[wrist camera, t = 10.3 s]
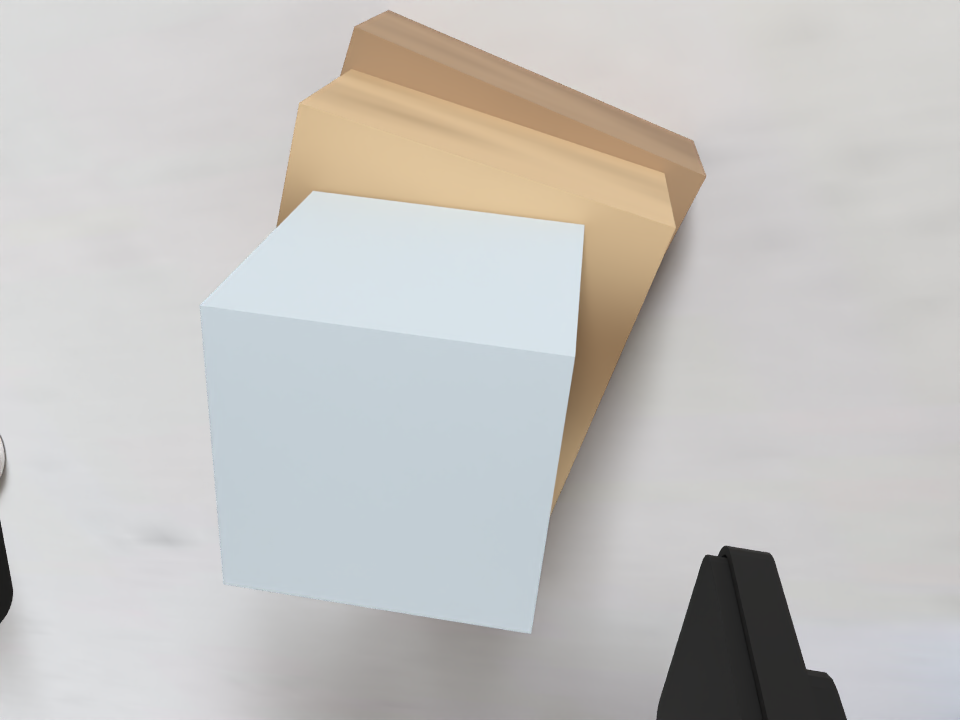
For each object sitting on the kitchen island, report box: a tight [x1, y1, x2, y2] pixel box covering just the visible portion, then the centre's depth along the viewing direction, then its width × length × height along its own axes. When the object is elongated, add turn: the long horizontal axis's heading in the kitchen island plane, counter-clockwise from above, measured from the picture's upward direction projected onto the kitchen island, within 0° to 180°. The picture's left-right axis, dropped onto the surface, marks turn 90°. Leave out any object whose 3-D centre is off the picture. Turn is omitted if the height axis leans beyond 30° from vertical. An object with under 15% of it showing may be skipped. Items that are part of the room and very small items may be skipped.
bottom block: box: [340, 10, 706, 255], centre depth 21 cm, size 8×8×4 cm
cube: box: [200, 191, 585, 634], centre depth 15 cm, size 5×5×5 cm
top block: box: [276, 69, 676, 516], centre depth 18 cm, size 7×7×4 cm
